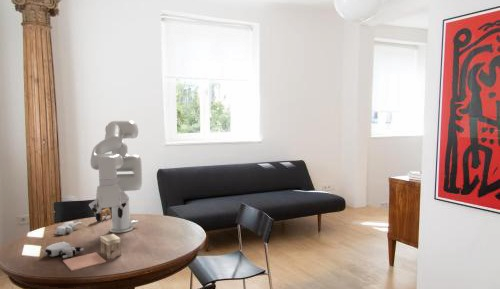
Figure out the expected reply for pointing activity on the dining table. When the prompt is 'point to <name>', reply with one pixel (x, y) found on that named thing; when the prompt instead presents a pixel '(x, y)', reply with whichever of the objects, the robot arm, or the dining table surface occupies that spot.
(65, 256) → the robot toy
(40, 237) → the dining table surface
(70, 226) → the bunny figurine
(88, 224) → the dining table surface
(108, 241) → the birch stool
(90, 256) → the terracotta mat
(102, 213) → the lion figurine
